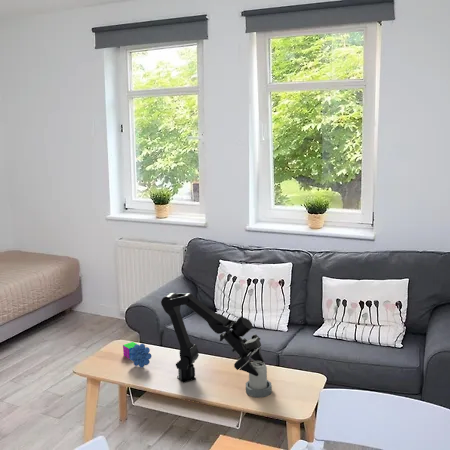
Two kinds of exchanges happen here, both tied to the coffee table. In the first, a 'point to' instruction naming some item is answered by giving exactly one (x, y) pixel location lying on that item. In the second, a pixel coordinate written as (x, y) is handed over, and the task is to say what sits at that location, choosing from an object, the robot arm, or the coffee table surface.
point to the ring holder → (259, 391)
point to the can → (261, 379)
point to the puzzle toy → (128, 349)
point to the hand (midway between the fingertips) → (261, 370)
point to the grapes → (140, 355)
